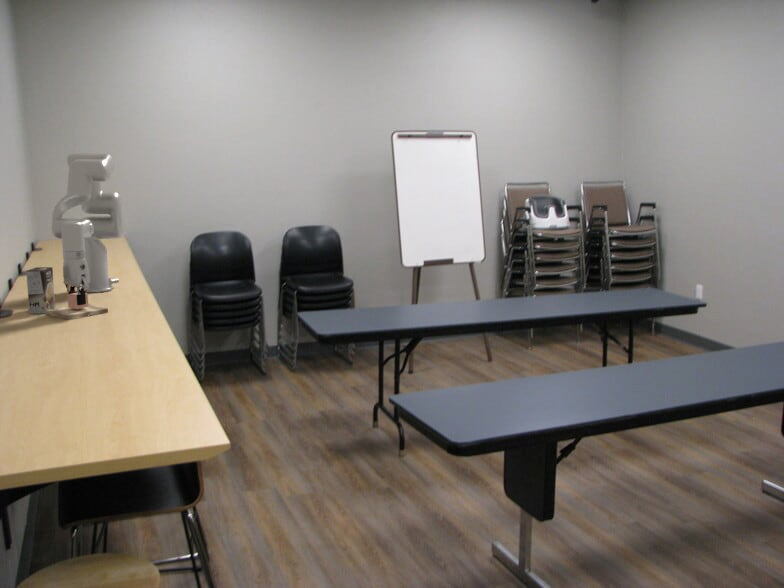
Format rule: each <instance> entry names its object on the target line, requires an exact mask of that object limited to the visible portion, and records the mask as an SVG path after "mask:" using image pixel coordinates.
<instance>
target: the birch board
mask: <svg viewBox="0 0 784 588" xmlns="http://www.w3.org/2000/svg"><path fill="white" fill-rule="evenodd" d="M88 305H89V307H85V308H80V309H73V308H69V306H67V305H66V306H62V307H57V308H56V307H55V309H50V310H47V313H46V314H47V315H49V316H52V317H57V318H61V319H65V320H67V319H68V321H69V320H74V318H76V319H79V318H78V317H81V318H84V317H83V316H86V317H89V316H88V315H91V316H94V315H93V314H96V315H100V313H102V314H106V313H105V312H107V313H109V308H107V307H103V306H99V305H95V304H91V303H88Z"/></svg>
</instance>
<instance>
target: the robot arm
mask: <svg viewBox="0 0 784 588" xmlns="http://www.w3.org/2000/svg"><path fill="white" fill-rule="evenodd" d="M66 162H67V166H68V177H67V187H66V188H67V189H66V190H67V192H66V194H65V195H64V196H63V197H62V198H60V200H58V202H57V203H56V205H55V206H54V208H53V210H52V216H51V229H50V230H51V234H52V236H53V237H55V238H56V239H59V240H60V239H61V244H62V258H63V259H62V260H63V261H62V263H63V264H62V265H63V266H62V271H63V272H62V273H63V274H62V276H63V284H64V286H65V288H66V292H67V294H72V293H78V295H77V305H84V304H86V296H85V294H86V293H101V292H102V293H103V292H110V291H112V290H113V289H114V286H113V284H119V282H120V281H119V278H113V279H112V278H110V277H109V263H108V261H109V260H108V249H107V247H106V244H104V243H103V241H101V240H103V239H106V240H107V239H114V240H116V239H120V238H122V237H123V236H124V231H125V230H124V229H125V228H124V217H123V216H124V214H123V206H122V205H123V204H122V200H121V199H122V198H121V195H120V194H119V193H118V192H117V191H110V190H107V191H105V190H104V191H103V190H102V183H101V182H107V181H108V180H110V178H111V175H112V174H113V172H114V168H115V163H114V162H115V161H114V158H113V157H112V155H110V154H109V153H100V152H98V153H97V152H96V153H94V152H73V153H71V154H68V155H67V158H66ZM78 206H80V207H81V210H82V212H83V213H85V214H89V216H84V217H82V218H63V215H64V214H65V213H66V212H67V211H70V210H71V209H74V208H76V207H78ZM92 214H93V215H92ZM103 215H106V216H103ZM107 215H109V216H107Z"/></svg>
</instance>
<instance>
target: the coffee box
mask: <svg viewBox="0 0 784 588" xmlns="http://www.w3.org/2000/svg"><path fill="white" fill-rule="evenodd" d="M25 272H26V283H27V284H26V285H27V297H28V298H27V299H28V300H27V301H28V312H29V314H47V310H50V309H56V303H55V300H56V299H55V287H54V285H55V284H54V273H53V267H50V266H49V267H48V266H45V267H43V266H40V267H39V266H38V267H36V266H35V267H33V268H30V269H28V270H26V271H25Z"/></svg>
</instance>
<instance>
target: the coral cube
mask: <svg viewBox="0 0 784 588" xmlns="http://www.w3.org/2000/svg"><path fill="white" fill-rule="evenodd" d="M77 295H78V293H72V294H68V293H67V302H68V303H67V304H68V306H69V308H73V309H80V308H85V307H89V305H88V304H89V297H88V295H89V294H88V292H86V294H85V296H86V304H84V305H77Z"/></svg>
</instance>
